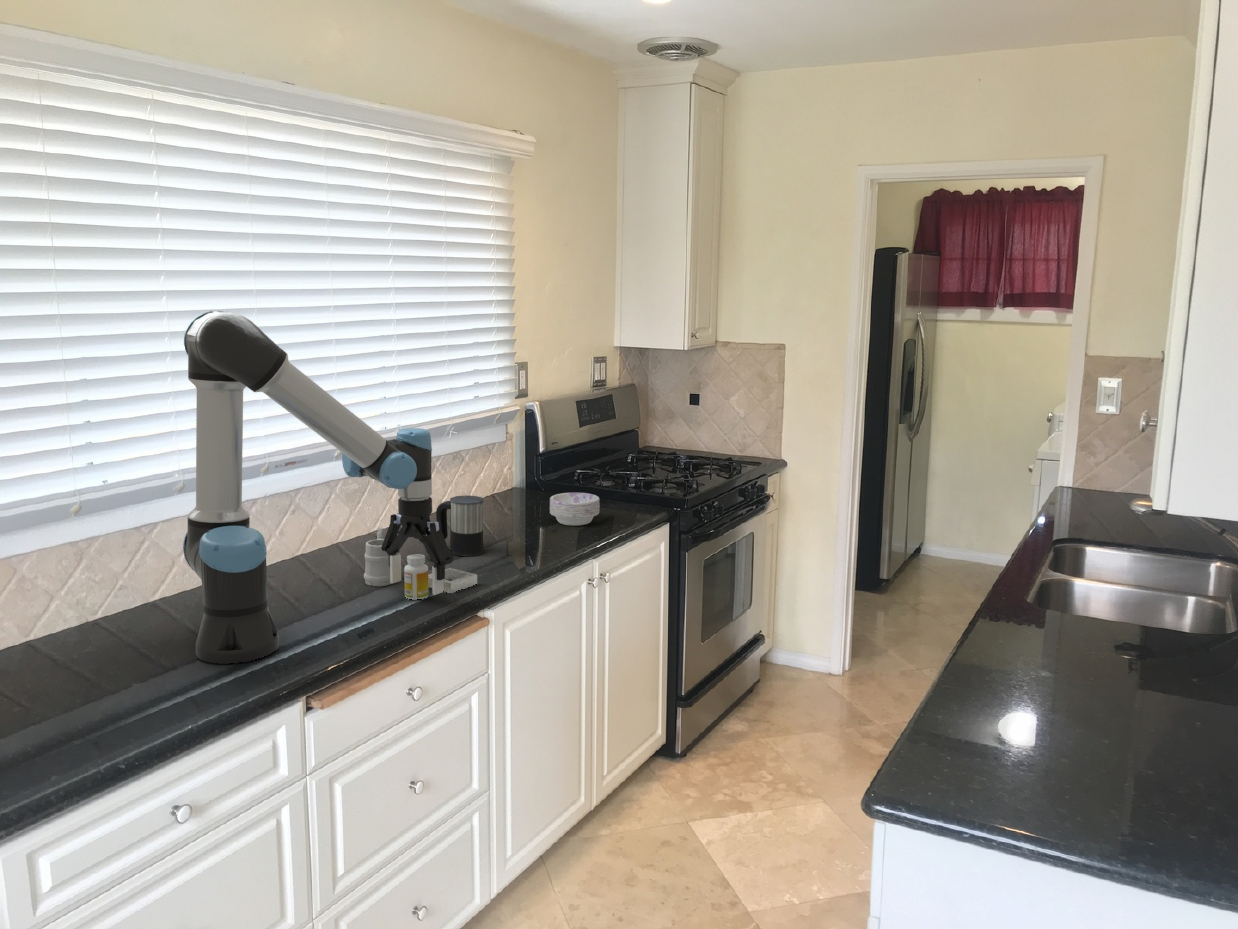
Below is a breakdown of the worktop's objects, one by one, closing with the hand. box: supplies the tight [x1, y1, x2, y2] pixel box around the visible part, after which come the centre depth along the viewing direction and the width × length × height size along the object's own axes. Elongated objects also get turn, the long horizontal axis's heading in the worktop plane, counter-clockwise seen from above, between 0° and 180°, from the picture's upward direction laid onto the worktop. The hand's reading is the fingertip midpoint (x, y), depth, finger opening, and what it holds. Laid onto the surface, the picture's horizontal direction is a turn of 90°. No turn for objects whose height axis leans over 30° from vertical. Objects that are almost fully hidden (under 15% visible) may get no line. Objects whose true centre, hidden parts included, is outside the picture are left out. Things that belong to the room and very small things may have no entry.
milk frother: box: [424, 495, 486, 561], centre depth 255 cm, size 14×16×15 cm
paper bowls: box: [549, 492, 601, 527], centre depth 294 cm, size 15×15×8 cm
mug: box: [363, 526, 394, 587], centre depth 232 cm, size 8×12×12 cm, turn 13°
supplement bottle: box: [403, 553, 430, 601], centre depth 220 cm, size 5×5×10 cm
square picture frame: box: [428, 567, 478, 594], centre depth 230 cm, size 9×9×2 cm
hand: (416, 587), depth 221 cm, fingers open, 13 cm apart
